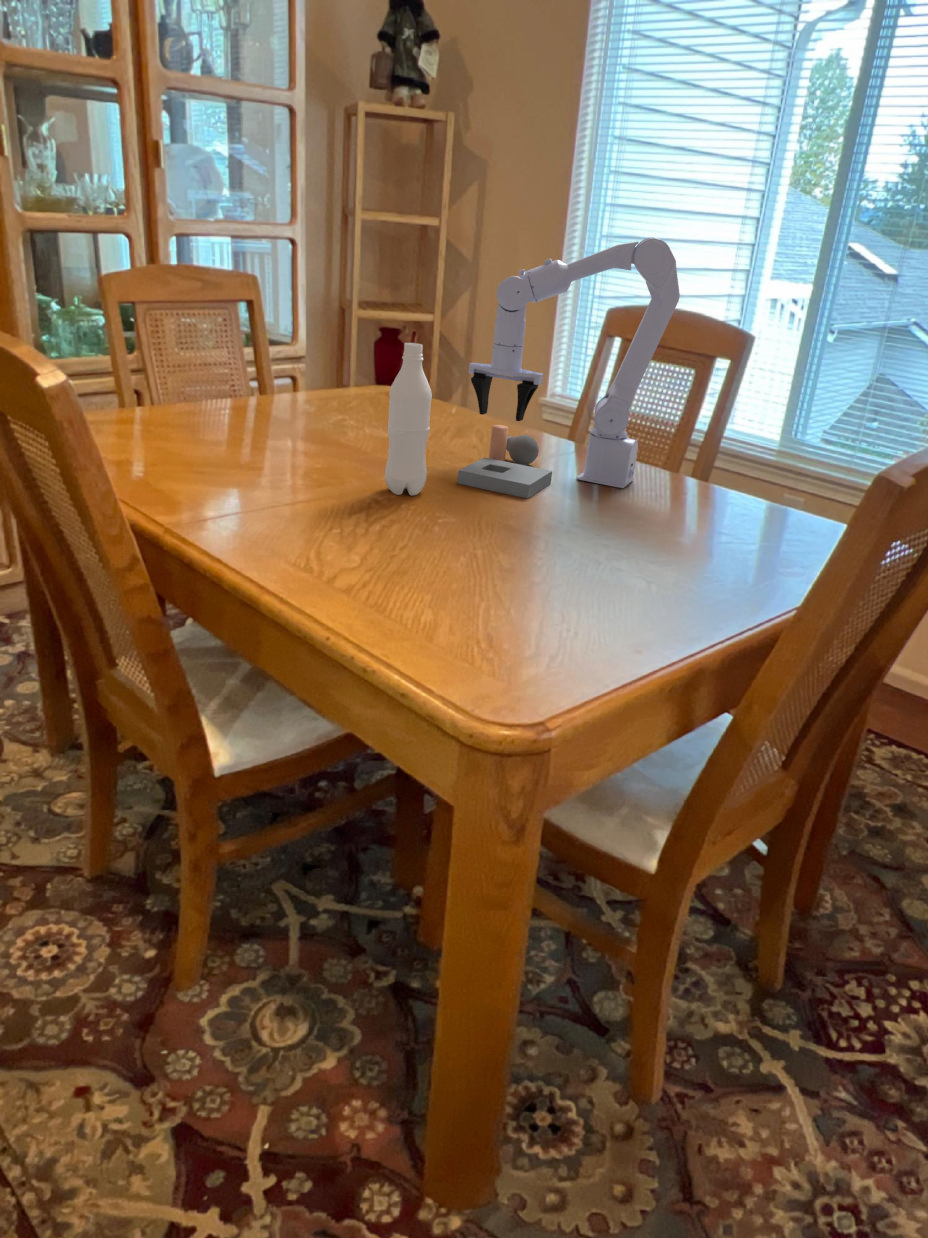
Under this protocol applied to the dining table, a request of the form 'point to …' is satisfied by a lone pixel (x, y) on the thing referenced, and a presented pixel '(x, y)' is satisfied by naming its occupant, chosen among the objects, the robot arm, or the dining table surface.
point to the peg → (498, 442)
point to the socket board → (505, 477)
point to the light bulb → (522, 449)
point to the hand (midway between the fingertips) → (501, 416)
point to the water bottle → (408, 424)
